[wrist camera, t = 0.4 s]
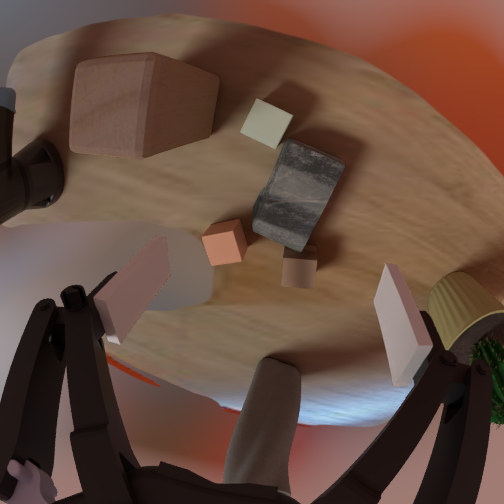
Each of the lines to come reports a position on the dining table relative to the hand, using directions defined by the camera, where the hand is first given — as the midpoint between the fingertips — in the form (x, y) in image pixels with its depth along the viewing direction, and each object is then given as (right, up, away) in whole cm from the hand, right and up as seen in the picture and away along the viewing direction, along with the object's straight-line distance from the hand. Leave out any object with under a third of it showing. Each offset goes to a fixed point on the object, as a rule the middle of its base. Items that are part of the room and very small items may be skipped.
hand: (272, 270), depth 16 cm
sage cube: (+1, +19, +21) cm, 28 cm away
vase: (+4, -25, +44) cm, 51 cm away
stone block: (+5, +11, +25) cm, 28 cm away
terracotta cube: (-5, +4, +30) cm, 31 cm away
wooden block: (-11, +23, +21) cm, 33 cm away
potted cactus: (+38, -7, +28) cm, 47 cm away
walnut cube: (+7, 0, +30) cm, 31 cm away
